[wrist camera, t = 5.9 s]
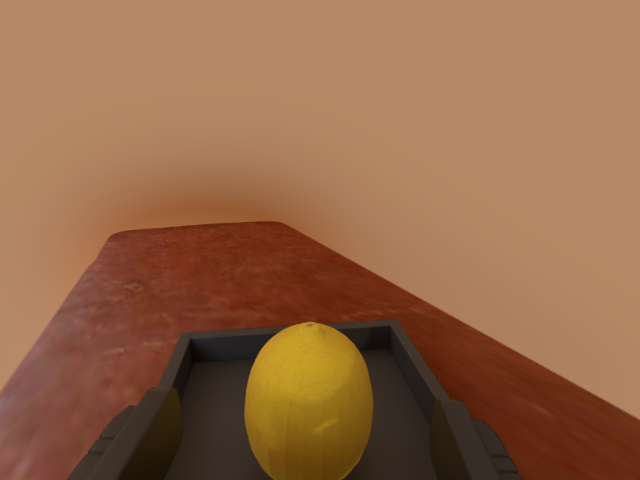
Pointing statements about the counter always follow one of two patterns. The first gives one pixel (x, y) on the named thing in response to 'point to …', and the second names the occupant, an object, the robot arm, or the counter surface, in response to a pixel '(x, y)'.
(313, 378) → the lemon
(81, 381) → the counter surface
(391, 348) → the dark grey tray
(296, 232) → the counter surface
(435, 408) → the robot arm
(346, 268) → the counter surface
